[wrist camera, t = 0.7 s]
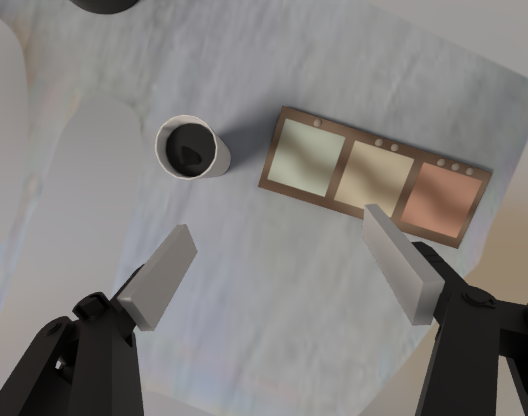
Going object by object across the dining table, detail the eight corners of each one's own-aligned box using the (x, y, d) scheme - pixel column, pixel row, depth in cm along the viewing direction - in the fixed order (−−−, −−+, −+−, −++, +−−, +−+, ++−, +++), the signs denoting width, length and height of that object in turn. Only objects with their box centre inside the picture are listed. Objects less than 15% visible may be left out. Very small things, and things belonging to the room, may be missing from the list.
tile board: (282, 108, 30) (282, 105, 29) (485, 173, 31) (494, 172, 29) (258, 186, 32) (257, 186, 30) (452, 246, 32) (459, 249, 31)
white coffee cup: (235, 179, 32) (219, 178, 22) (192, 180, 32) (158, 180, 22) (232, 135, 31) (215, 113, 21) (189, 136, 31) (151, 116, 21)
